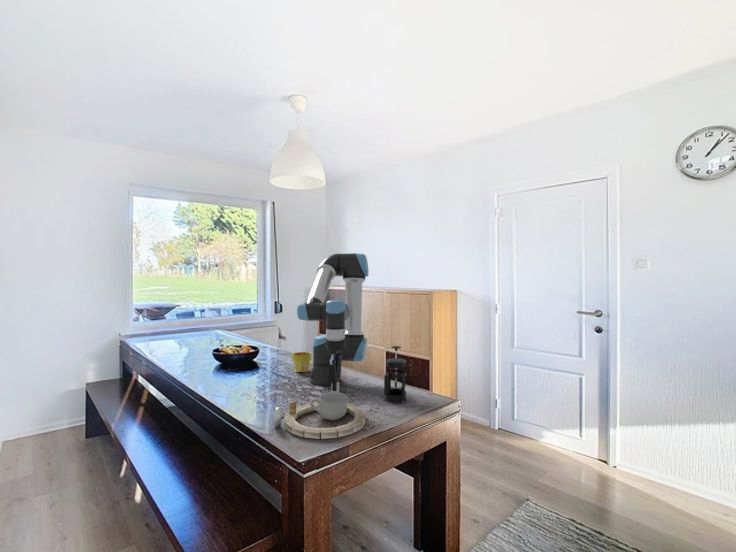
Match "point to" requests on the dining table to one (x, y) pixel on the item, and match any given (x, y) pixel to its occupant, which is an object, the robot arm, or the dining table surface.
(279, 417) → the shiny cylinder
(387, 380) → the french press
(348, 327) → the robot arm
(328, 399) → the teacup
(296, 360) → the plant pot
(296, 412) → the ring
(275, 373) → the dining table surface
